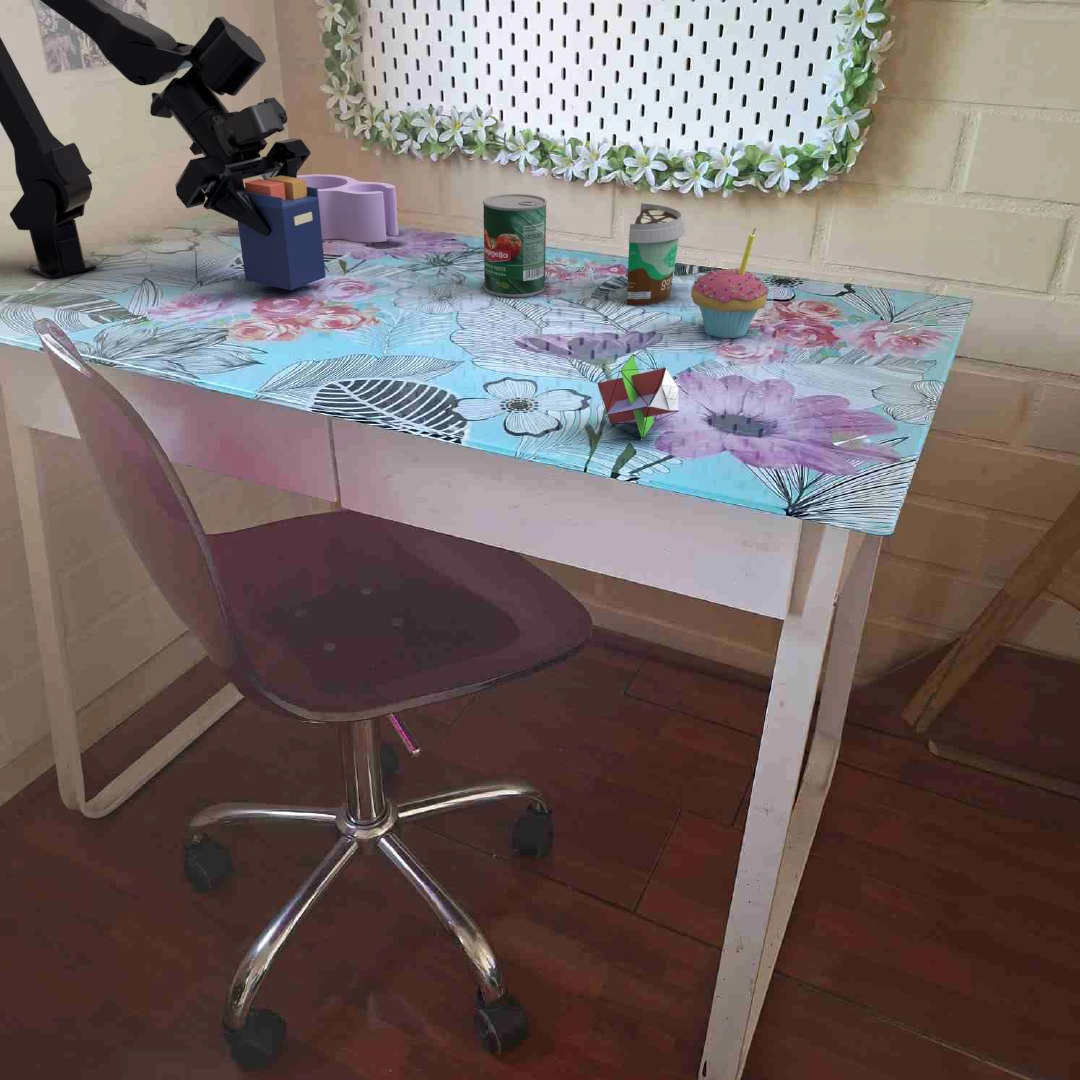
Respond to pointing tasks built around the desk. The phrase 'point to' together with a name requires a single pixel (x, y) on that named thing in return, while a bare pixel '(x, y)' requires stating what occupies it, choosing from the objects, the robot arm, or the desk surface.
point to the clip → (354, 208)
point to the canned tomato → (514, 245)
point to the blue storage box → (284, 242)
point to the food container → (653, 254)
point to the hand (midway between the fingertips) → (288, 227)
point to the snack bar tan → (292, 186)
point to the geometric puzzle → (639, 396)
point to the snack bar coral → (266, 188)
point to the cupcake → (729, 298)
